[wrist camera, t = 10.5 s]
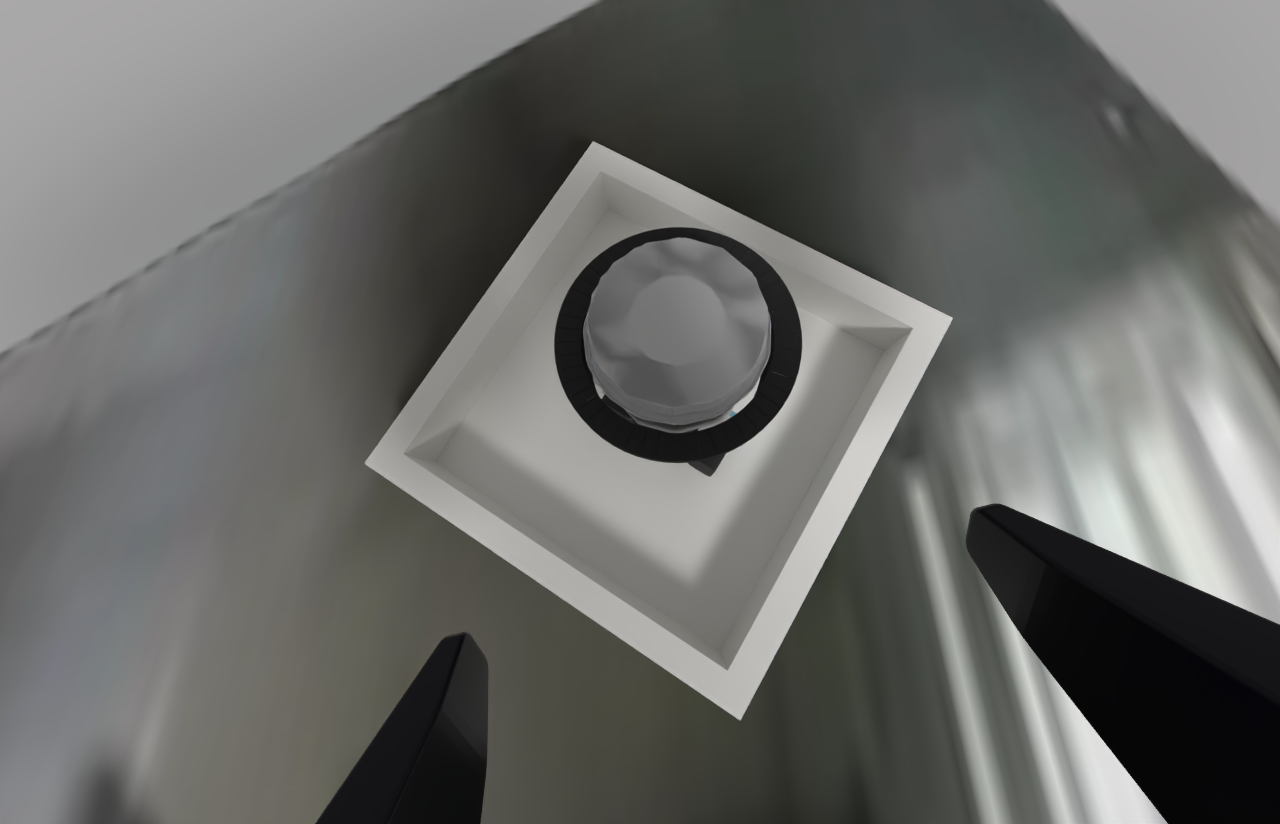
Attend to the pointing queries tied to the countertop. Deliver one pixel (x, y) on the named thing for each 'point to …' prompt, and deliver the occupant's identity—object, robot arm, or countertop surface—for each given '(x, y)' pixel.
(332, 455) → the countertop surface
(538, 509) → the tray
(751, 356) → the push button
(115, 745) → the countertop surface
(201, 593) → the countertop surface
